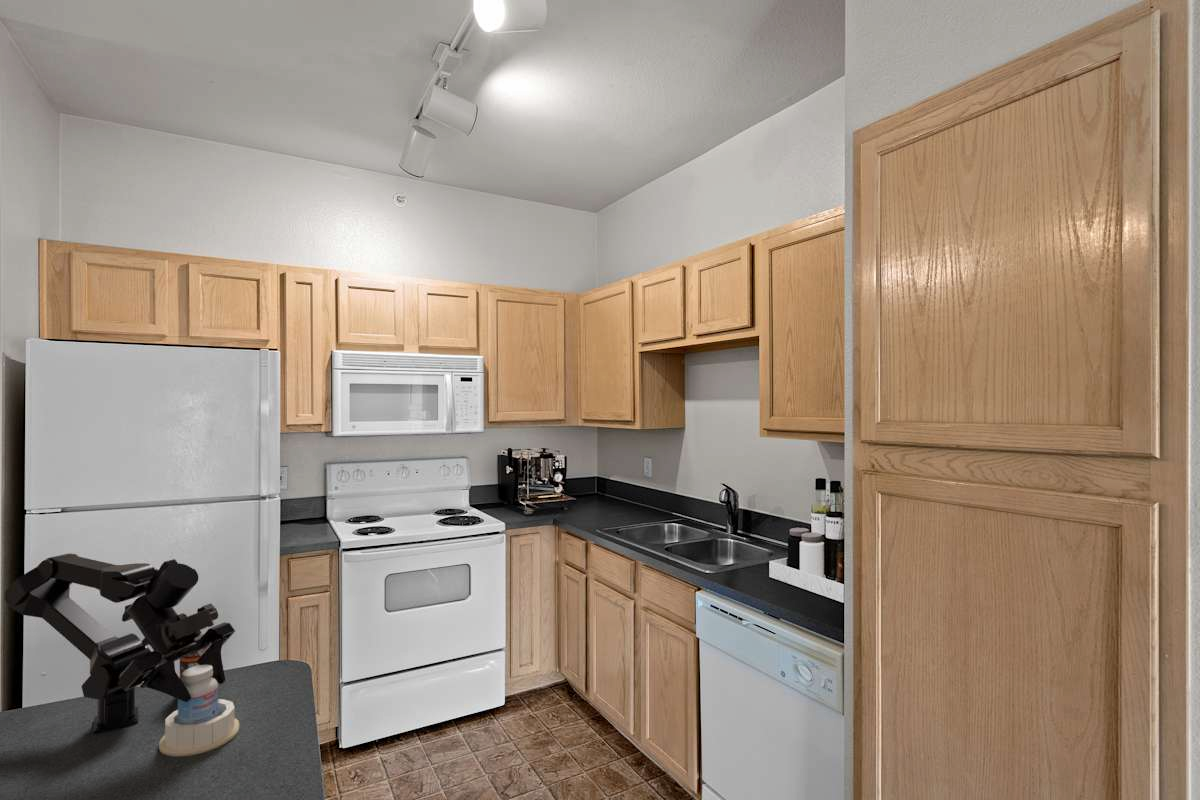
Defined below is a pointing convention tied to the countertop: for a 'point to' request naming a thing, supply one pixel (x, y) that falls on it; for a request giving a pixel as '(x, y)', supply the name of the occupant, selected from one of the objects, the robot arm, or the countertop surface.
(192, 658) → the supplement bottle
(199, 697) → the pill bottle
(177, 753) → the socket dock
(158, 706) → the countertop surface
